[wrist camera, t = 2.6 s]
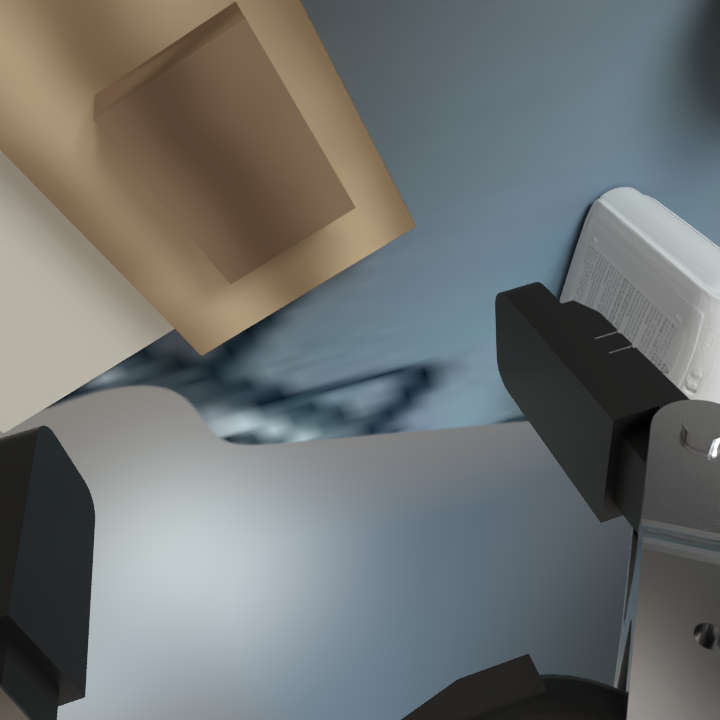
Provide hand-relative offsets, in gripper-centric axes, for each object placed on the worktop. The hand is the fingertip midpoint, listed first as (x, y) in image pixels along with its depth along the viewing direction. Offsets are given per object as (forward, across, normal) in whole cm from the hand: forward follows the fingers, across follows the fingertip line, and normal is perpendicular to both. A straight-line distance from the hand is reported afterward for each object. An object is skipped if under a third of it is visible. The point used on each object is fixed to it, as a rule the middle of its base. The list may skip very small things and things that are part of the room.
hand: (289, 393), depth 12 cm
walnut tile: (+16, 0, +1) cm, 16 cm away
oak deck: (+21, 0, +2) cm, 21 cm away
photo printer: (+22, -20, +16) cm, 34 cm away
